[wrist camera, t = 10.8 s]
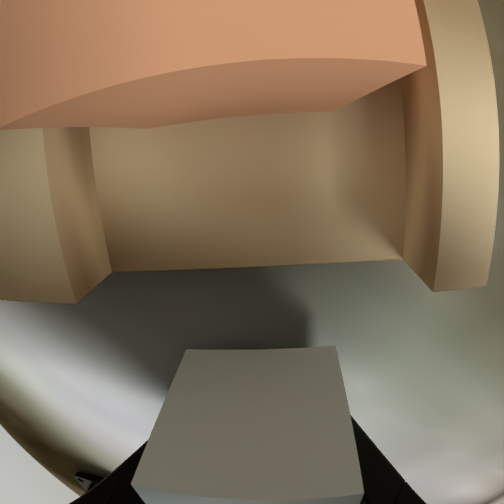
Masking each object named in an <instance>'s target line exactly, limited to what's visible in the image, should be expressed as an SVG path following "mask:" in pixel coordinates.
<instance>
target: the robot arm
mask: <svg viewBox="0 0 504 504" xmlns="http://www.w3.org/2000/svg"><path fill="white" fill-rule="evenodd" d="M350 416H351V415H350ZM351 421H352V426H353V431H354V437H355V442H356V447H357V453H358V459H359V464H360V470H361V476H362V482H363V488H364V495H363V497H362V500H361V502H360V504H426V503H425V502H424V501H423V500H422V499H421V498H420V497H419V496H418V495H417V494H416V492H415V491H414V490H413V489H412V488H411V487H410V486H409V484H408V483H407V482H405V480H404V479H403V478H402V476H401V475H400V474H399V473H398V472H397V470H396V469H395V468H394V467H393V466H392V464H391V463H390V462H389V461H388V460H387V459H386V457H385V456H384V455H383V454H382V453H381V451H380V450H379V449H378V448H377V447H376V445H375V444H374V443H373V442H372V440H371V439H370V438H369V437H368V436H367V434H366V433H365V432H364V431H363V430H362V428H361V427H360V426H359V425H358V424H357V422H356V421H355V420H354V419H353V417H352V416H351ZM147 442H148V440H147V441H146V442H145V443H144V444H143V445H142V446H141V447H140V448H139V449H138V450H136V451H135V452H134V453H133V454H132V455H131V456H130V457H129V458H128V459H126V460H125V461H124V462H123V463H122V464H121V465H120V466H118V467H117V468H116V469H115V470H114V471H113V472H112V473H110V476H109V475H108V476H107V477H106V478H104V479H103V480H102V479H99V478H96V477H92V476H89V475H86V474H83V473H80V472H76V474H75V476H74V478H75V479H76V480H77V481H78V482H79V484H80V485H81V486H82V487H83V488H84V489H85V490H86V493H85V494H84V495H82V496H81V497H79V498H78V499H76V500H74V501H73V502H71V503H70V504H145V502H144V501H143V500H142V498H141V497H140V496H139V495H138V493H137V492H136V491H135V489H134V488H133V486H132V485H131V482H132V480H133V477H134V475H135V472H136V470H137V467H138V465H139V462H140V460H141V457H142V455H143V452H144V450H145V447H146V445H147Z"/></svg>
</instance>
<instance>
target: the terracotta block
mask: <svg viewBox="0 0 504 504" xmlns="http://www.w3.org/2000/svg"><path fill="white" fill-rule="evenodd" d="M425 66H427V65H426V58H425V51H424V45H423V39H422V34H421V29H420V23H419V19H418V14H417V9H416V5H415V1H414V0H1V4H0V130H13V129H29V128H53V127H115V128H140V129H150V128H155V127H161V126H167V125H174V124H180V123H187V122H194V121H202V120H210V119H219V118H228V117H238V116H250V115H263V114H279V113H303V112H335V111H337V110H339V109H340V108H342V107H344V106H346V105H348V104H350V103H352V102H354V101H356V100H357V99H359V98H361V97H363V96H365V95H367V94H369V93H371V92H373V91H375V90H377V89H379V88H381V87H383V86H385V85H387V84H389V83H391V82H393V81H395V80H397V79H399V78H402V77H404V76H406V75H408V74H410V73H412V72H414V71H416V70H419V69H421V68H423V67H425Z"/></svg>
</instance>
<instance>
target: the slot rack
mask: <svg viewBox="0 0 504 504" xmlns="http://www.w3.org/2000/svg"><path fill="white" fill-rule="evenodd" d="M414 1H415V5H416V9H417V14H418V19H419V23H420V29H421V34H422V39H423V45H424V51H425V58H426V65H427V66H425V67H423V68H421V69H419V70H416V71H414V72H412V73H410V74H408V75H406V76H404V77H402V78H399V79H397V80H395V81H393V82H391V83H389V84H387V85H385V86H383V87H381V88H379V89H377V90H375V91H373V92H371V93H369V94H367V95H365V96H363V97H361V98H359V99H357V100H356V101H354V102H352V103H350V104H348V105H346V106H344V107H342V108H340V109H339V110H337V111H335V112H303V113H279V114H263V115H250V116H238V117H228V118H219V119H210V120H202V121H194V122H187V123H180V124H174V125H167V126H161V127H155V128H150V129H140V128H115V127H53V128H29V129H13V130H0V300H10V301H26V302H43V303H64V304H77V303H78V302H79V301H80V300H81V299H82V298H83V297H85V296H86V295H87V294H88V293H89V292H90V291H91V290H92V289H93V288H95V287H96V286H97V285H98V284H99V283H100V282H101V281H102V280H104V279H105V278H106V277H107V276H108V275H109V274H111V273H112V272H129V271H160V270H187V269H213V268H237V267H260V266H281V265H302V264H322V263H340V262H359V261H376V260H393V259H403V260H404V261H405V262H406V263H407V264H408V265H409V266H410V267H411V268H412V269H413V271H414V272H415V273H416V274H417V275H418V276H419V277H420V278H421V279H422V280H423V281H424V283H425V284H426V285H427V286H428V287H429V288H430V289H431V290H432V292H440V291H449V290H458V289H466V288H475V287H483V286H486V284H487V279H488V274H489V268H490V262H491V256H492V250H493V243H494V235H495V226H496V216H497V205H498V188H499V128H498V112H497V101H496V91H495V83H494V75H493V69H492V62H491V57H490V51H489V46H488V41H487V36H486V32H485V27H484V23H483V19H482V15H481V11H480V8H479V4H478V1H477V0H414ZM0 4H1V0H0Z"/></svg>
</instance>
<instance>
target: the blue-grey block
mask: <svg viewBox="0 0 504 504" xmlns="http://www.w3.org/2000/svg"><path fill="white" fill-rule="evenodd" d="M131 485H132V486H133V488H134V489H135V491H136V492H137V493H138V495H139V496H140V497H141V498H142V500H143V501H144V502H145V504H360V502H361V500H362V497H363V495H364V488H363V482H362V476H361V470H360V464H359V459H358V453H357V447H356V442H355V437H354V431H353V426H352V421H351V416H350V411H349V406H348V401H347V396H346V392H345V387H344V382H343V378H342V373H341V369H340V364H339V360H338V355H337V351H336V347H335V346H326V347H310V348H289V349H257V350H199V349H186V351H185V353H184V356H183V358H182V361H181V363H180V365H179V368H178V370H177V372H176V375H175V377H174V379H173V382H172V384H171V387H170V389H169V391H168V394H167V396H166V399H165V401H164V403H163V406H162V408H161V411H160V413H159V415H158V418H157V420H156V423H155V425H154V428H153V430H152V432H151V435H150V437H149V440H148V442H147V445H146V447H145V450H144V452H143V455H142V457H141V460H140V462H139V465H138V467H137V470H136V472H135V475H134V477H133V480H132V482H131Z"/></svg>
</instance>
